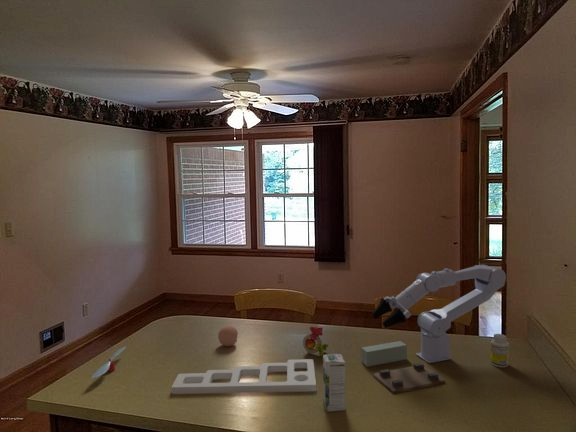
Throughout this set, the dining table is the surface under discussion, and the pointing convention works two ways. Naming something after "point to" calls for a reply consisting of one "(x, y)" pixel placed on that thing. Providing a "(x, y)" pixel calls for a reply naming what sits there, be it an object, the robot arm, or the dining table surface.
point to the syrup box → (333, 382)
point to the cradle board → (408, 378)
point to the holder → (293, 384)
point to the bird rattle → (311, 343)
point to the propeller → (108, 365)
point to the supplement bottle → (500, 351)
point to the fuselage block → (384, 353)
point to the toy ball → (228, 336)
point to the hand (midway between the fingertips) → (378, 321)
